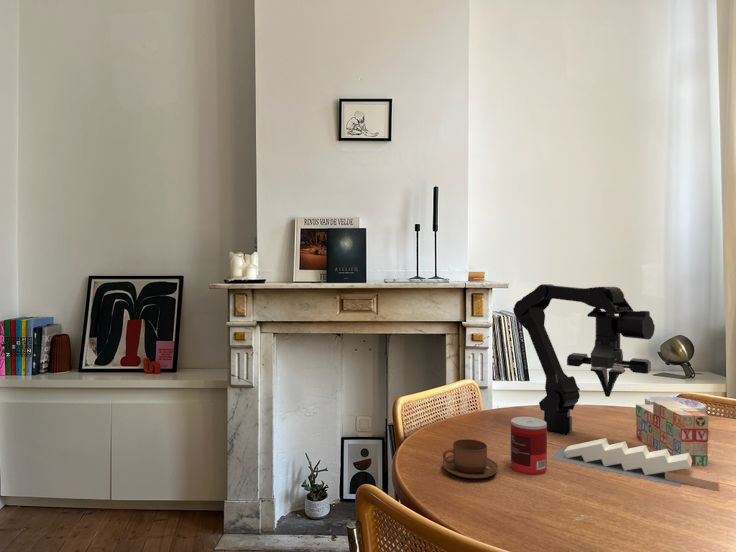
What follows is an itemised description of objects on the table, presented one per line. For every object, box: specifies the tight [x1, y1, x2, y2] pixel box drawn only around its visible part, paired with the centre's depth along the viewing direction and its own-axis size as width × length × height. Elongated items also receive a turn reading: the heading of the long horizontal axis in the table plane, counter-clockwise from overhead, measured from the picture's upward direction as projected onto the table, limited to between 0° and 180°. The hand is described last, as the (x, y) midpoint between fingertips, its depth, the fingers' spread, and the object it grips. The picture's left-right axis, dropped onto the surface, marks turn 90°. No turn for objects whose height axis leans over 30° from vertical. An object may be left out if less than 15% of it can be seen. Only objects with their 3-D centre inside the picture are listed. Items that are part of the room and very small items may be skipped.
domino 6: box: [665, 468, 719, 492], centre depth 102 cm, size 2×5×9 cm
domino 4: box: [621, 449, 670, 471], centre depth 107 cm, size 2×5×9 cm
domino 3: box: [601, 444, 650, 466], centre depth 109 cm, size 2×5×9 cm
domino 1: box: [564, 437, 610, 458], centre depth 114 cm, size 2×5×9 cm
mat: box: [549, 446, 683, 488], centre depth 110 cm, size 26×10×1 cm, turn 53°
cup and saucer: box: [442, 438, 499, 480], centre depth 107 cm, size 12×12×6 cm
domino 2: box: [582, 441, 629, 462], centre depth 112 cm, size 2×5×9 cm
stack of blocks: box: [635, 402, 709, 466], centre depth 121 cm, size 21×6×12 cm, turn 176°
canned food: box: [510, 416, 548, 476], centre depth 108 cm, size 8×8×11 cm
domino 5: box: [642, 453, 692, 475], centre depth 104 cm, size 2×5×9 cm
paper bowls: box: [644, 395, 707, 415], centre depth 142 cm, size 15×15×8 cm
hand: (607, 396), depth 124 cm, fingers closed
